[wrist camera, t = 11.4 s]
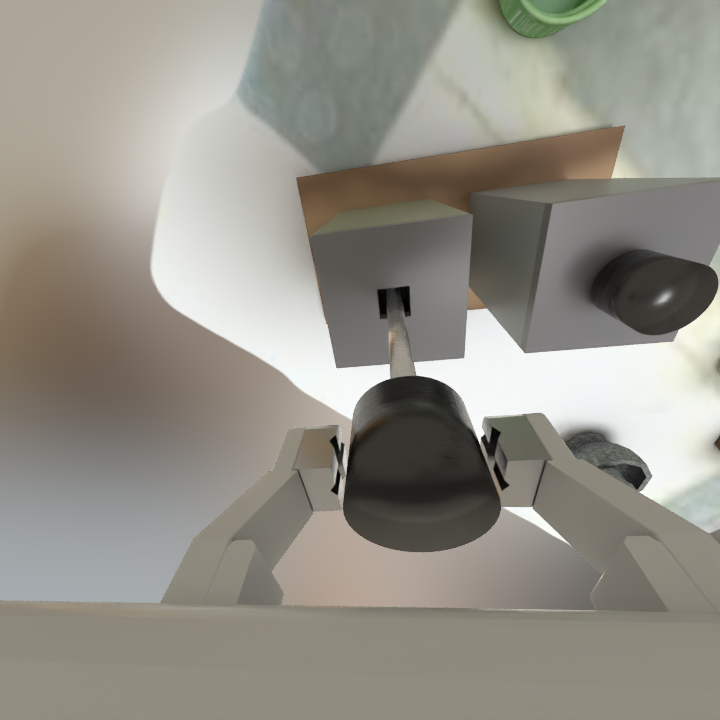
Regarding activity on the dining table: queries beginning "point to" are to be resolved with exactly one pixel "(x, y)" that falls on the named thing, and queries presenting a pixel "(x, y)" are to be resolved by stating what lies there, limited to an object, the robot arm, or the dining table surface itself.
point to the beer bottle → (718, 443)
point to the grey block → (580, 251)
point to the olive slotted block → (395, 279)
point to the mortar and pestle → (611, 459)
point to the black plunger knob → (415, 456)
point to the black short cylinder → (654, 291)
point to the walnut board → (459, 177)
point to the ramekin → (546, 14)
